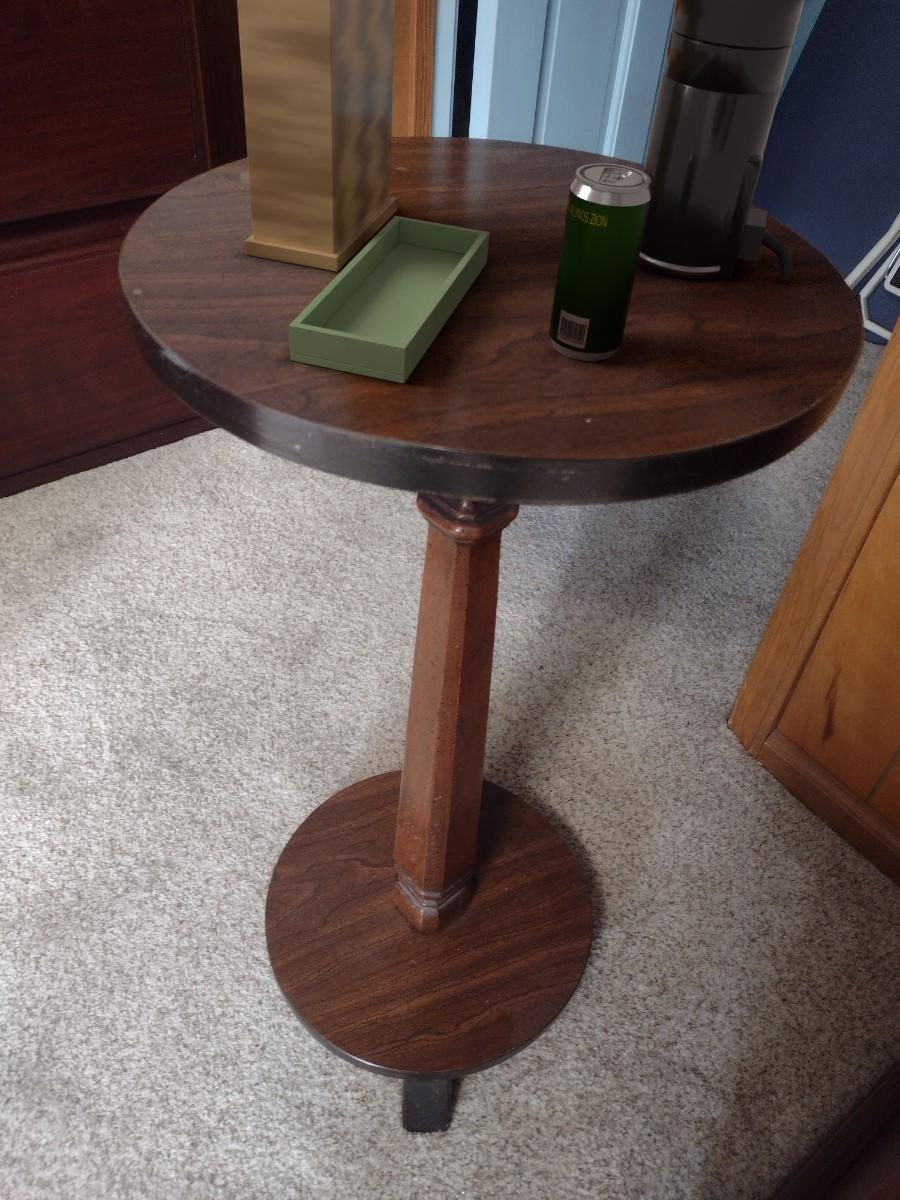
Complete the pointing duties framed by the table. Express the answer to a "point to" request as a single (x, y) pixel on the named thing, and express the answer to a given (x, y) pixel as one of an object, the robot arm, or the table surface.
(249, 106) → the stand
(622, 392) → the table surface
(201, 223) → the table surface
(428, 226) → the green rectangular tray
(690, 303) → the table surface
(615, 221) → the beer can
